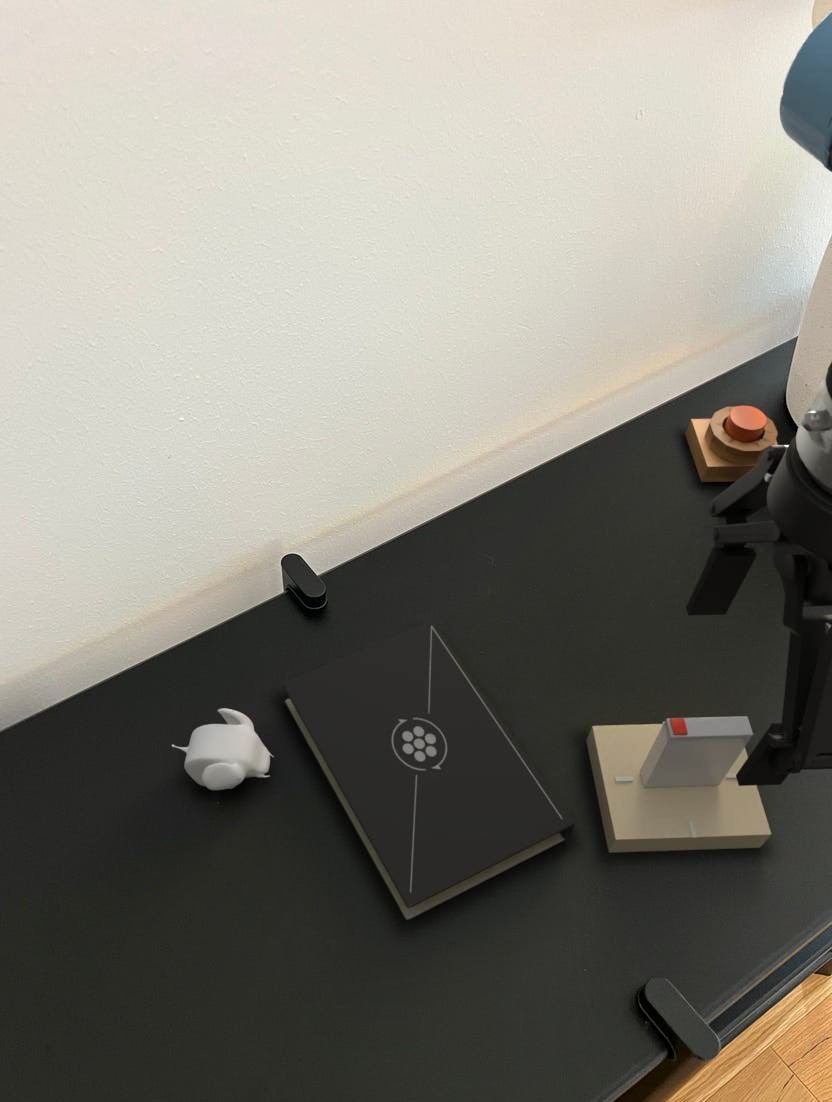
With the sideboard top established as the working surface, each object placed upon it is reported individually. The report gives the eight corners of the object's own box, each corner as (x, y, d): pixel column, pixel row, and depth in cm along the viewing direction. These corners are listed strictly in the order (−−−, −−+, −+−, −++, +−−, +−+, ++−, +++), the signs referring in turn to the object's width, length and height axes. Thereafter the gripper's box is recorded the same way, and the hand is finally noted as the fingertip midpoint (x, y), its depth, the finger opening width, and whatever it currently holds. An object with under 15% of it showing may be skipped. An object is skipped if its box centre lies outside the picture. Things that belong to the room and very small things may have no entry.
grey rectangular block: (714, 767, 78) (748, 713, 71) (719, 785, 77) (755, 733, 70) (639, 770, 78) (667, 716, 71) (643, 788, 77) (672, 735, 70)
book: (571, 838, 77) (578, 821, 75) (406, 922, 73) (408, 908, 71) (433, 638, 88) (436, 618, 86) (283, 701, 84) (281, 682, 82)
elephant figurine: (267, 815, 78) (262, 781, 73) (169, 805, 79) (157, 770, 74) (281, 742, 82) (277, 704, 77) (186, 732, 83) (177, 694, 78)
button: (755, 418, 100) (761, 404, 99) (765, 442, 98) (771, 429, 97) (720, 418, 100) (725, 405, 99) (729, 443, 98) (735, 430, 96)
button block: (759, 433, 104) (773, 403, 101) (778, 480, 100) (793, 451, 97) (685, 434, 104) (696, 405, 101) (701, 482, 100) (713, 453, 97)
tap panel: (727, 735, 83) (737, 719, 80) (761, 849, 77) (773, 834, 75) (585, 739, 82) (592, 723, 80) (608, 854, 76) (616, 840, 74)
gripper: (728, 311, 57) (637, 552, 74) (880, 670, 42) (723, 865, 59) (856, 309, 57) (736, 549, 74) (1050, 666, 42) (844, 861, 60)
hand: (730, 690), depth 67 cm, fingers open, 13 cm apart
